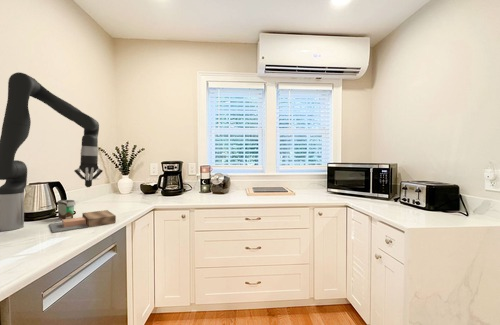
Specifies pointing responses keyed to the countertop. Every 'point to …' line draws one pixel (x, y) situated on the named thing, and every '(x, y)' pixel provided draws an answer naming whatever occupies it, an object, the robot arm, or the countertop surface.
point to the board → (99, 218)
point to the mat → (59, 227)
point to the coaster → (73, 222)
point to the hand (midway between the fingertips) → (88, 187)
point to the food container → (66, 209)
